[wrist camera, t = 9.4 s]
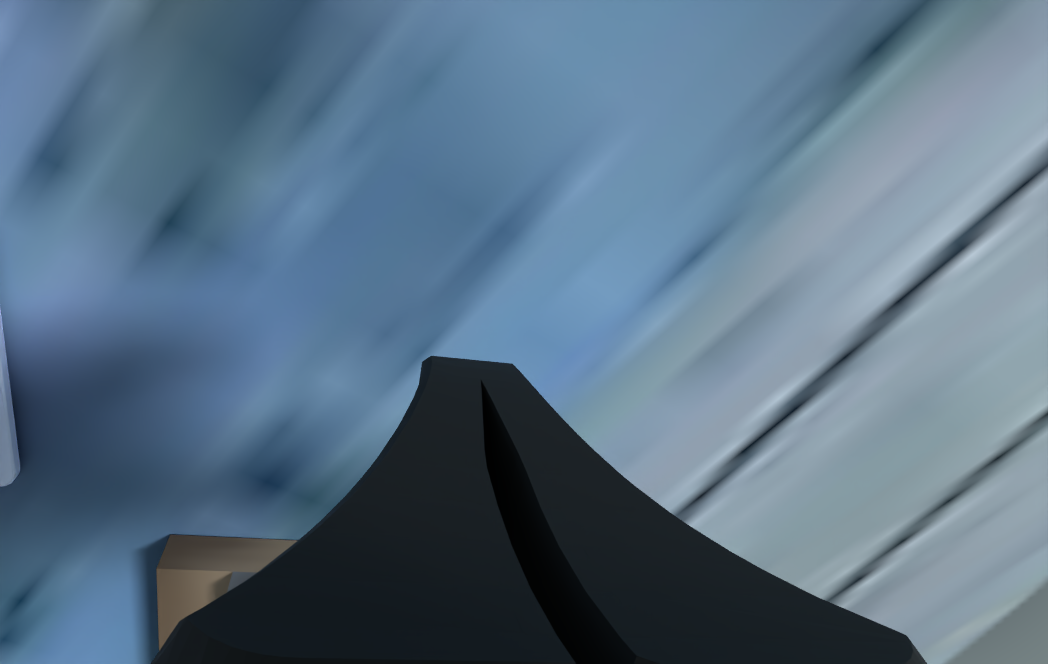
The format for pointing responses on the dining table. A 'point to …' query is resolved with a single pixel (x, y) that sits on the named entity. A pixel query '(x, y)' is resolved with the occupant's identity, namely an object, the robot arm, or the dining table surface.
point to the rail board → (206, 572)
